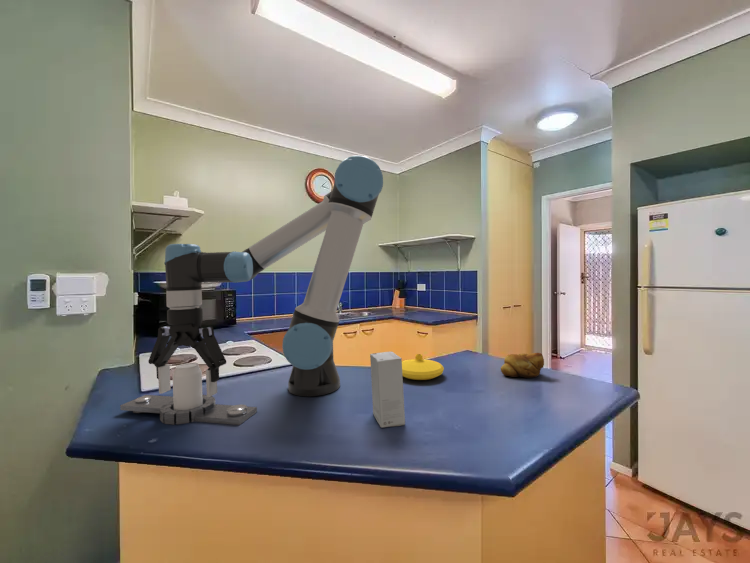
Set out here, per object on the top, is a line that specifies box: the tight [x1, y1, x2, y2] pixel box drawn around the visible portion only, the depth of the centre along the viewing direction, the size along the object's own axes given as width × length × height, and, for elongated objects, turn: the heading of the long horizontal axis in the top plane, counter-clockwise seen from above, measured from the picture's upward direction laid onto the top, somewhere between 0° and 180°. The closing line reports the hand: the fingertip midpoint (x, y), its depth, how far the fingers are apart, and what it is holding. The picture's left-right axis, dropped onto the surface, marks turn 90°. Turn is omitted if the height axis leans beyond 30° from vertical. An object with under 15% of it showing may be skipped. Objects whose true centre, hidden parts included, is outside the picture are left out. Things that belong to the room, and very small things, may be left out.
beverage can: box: [172, 362, 203, 411], centre depth 80 cm, size 6×6×12 cm
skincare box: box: [369, 351, 406, 428], centre depth 74 cm, size 8×6×15 cm
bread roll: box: [500, 352, 545, 379], centre depth 104 cm, size 13×10×8 cm
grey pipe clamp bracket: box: [119, 394, 258, 426], centre depth 80 cm, size 33×12×3 cm, turn 78°
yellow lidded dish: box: [402, 353, 445, 381], centre depth 105 cm, size 16×16×7 cm
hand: (188, 393), depth 80 cm, fingers open, 13 cm apart
